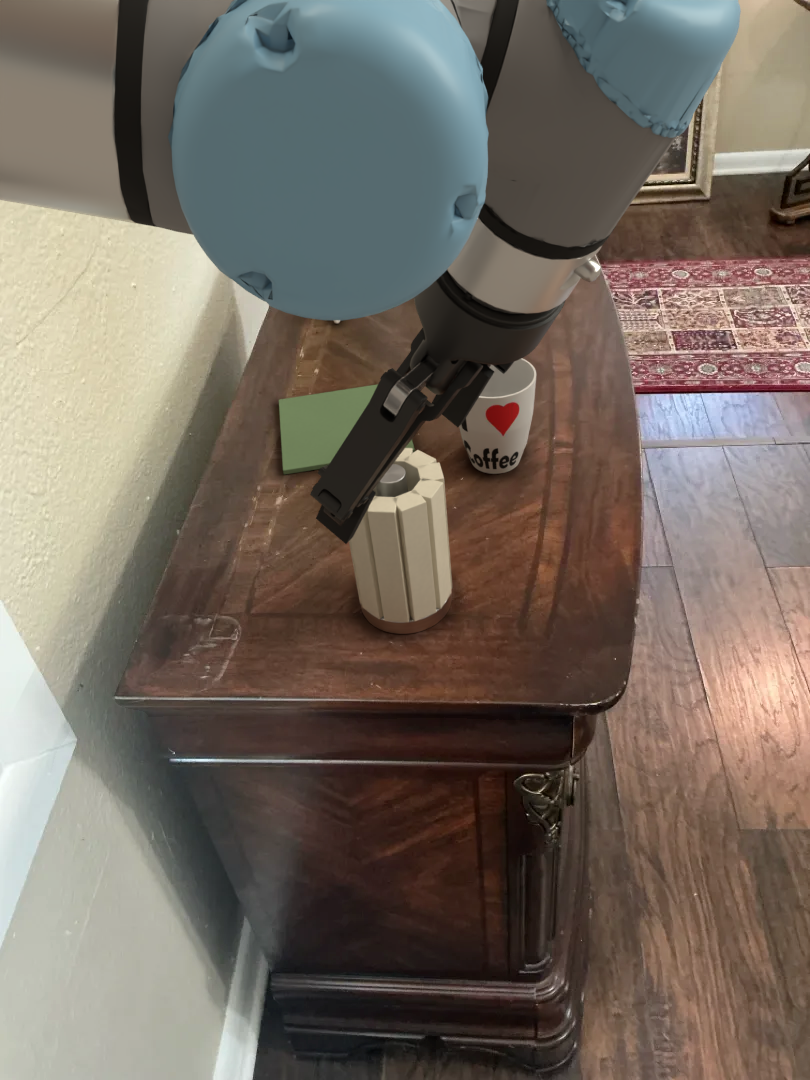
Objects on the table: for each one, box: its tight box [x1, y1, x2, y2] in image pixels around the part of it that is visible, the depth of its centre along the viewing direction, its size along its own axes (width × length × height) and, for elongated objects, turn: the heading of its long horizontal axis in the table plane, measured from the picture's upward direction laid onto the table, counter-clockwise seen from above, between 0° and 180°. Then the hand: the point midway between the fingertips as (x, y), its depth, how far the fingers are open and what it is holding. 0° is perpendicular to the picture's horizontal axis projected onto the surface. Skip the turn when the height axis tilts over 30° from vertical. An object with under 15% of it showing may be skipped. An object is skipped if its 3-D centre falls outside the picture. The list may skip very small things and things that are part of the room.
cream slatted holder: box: [348, 448, 453, 622], centre depth 70 cm, size 8×8×12 cm
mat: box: [278, 383, 416, 475], centre depth 96 cm, size 14×14×1 cm
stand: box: [359, 464, 453, 635], centre depth 71 cm, size 8×8×14 cm
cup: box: [458, 357, 537, 475], centre depth 86 cm, size 8×8×10 cm
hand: (393, 467), depth 62 cm, fingers open, 13 cm apart
